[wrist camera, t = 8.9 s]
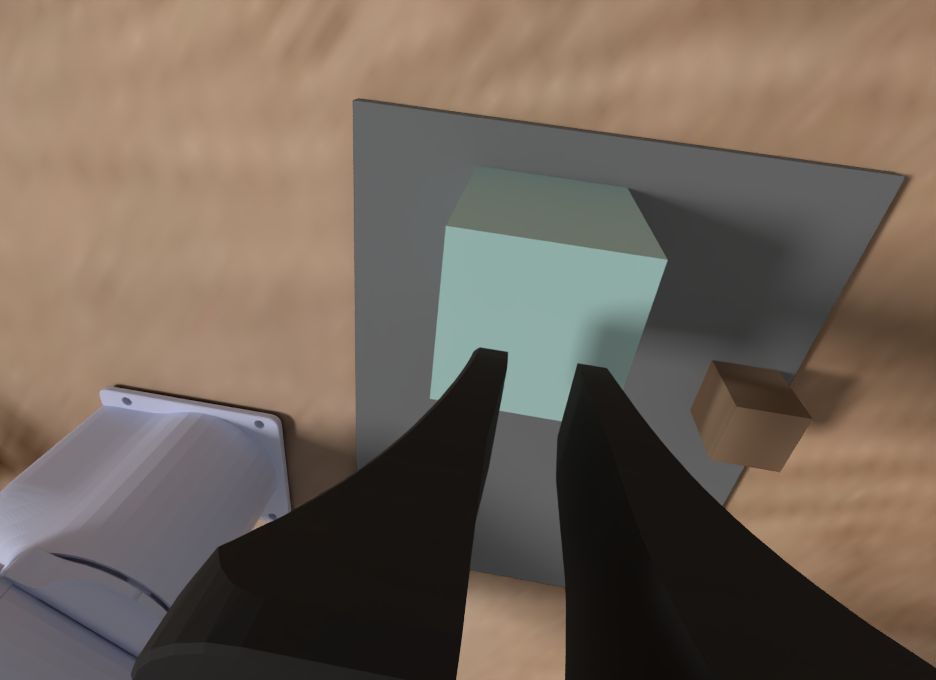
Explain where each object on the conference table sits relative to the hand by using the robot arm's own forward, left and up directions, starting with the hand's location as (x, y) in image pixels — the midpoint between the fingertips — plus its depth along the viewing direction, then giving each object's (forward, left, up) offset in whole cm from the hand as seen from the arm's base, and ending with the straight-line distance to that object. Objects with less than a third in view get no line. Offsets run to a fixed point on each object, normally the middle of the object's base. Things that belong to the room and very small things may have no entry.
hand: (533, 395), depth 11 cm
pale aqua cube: (0, 0, -9) cm, 9 cm away
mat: (+2, -8, -10) cm, 13 cm away
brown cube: (+9, -5, -9) cm, 14 cm away
